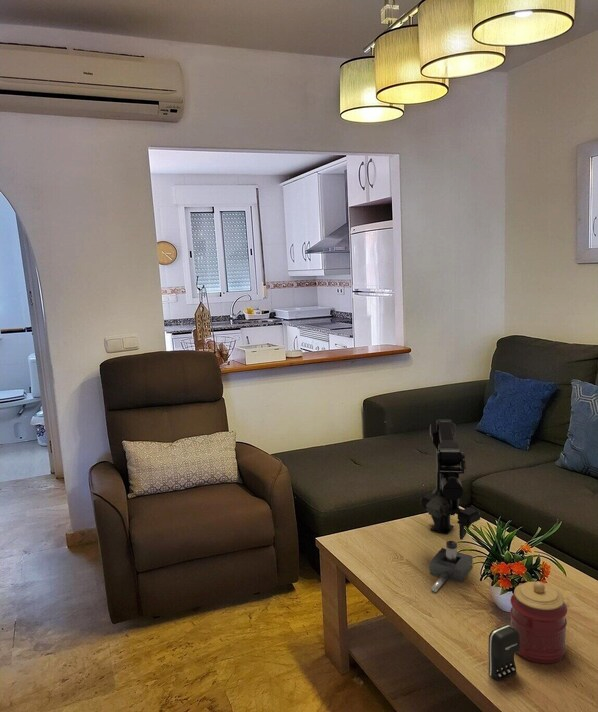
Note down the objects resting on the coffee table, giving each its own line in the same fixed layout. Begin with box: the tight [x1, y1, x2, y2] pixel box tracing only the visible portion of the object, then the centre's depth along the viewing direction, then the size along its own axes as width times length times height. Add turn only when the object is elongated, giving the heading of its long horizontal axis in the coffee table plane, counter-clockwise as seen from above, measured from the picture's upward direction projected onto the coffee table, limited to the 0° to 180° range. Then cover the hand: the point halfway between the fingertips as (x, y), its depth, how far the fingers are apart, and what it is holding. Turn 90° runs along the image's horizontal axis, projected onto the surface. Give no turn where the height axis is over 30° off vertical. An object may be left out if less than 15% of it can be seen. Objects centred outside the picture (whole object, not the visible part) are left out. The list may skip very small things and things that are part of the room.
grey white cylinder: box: [445, 540, 458, 564], centre depth 181 cm, size 3×3×8 cm
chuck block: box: [429, 547, 474, 594], centre depth 178 cm, size 19×10×4 cm, turn 145°
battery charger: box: [488, 624, 520, 681], centre depth 136 cm, size 7×4×11 cm, turn 116°
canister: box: [510, 580, 568, 664], centre depth 144 cm, size 13×13×18 cm
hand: (449, 534), depth 181 cm, fingers open, 9 cm apart
